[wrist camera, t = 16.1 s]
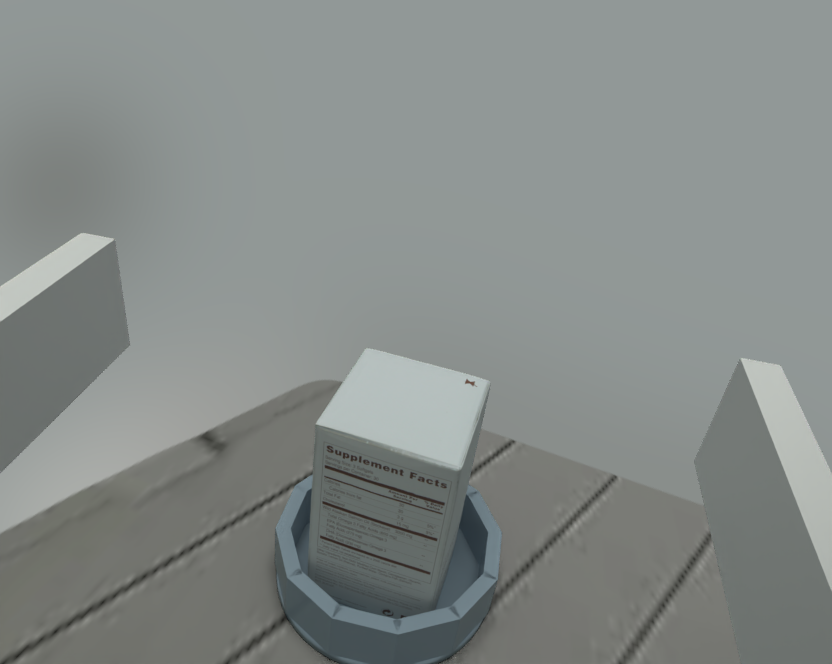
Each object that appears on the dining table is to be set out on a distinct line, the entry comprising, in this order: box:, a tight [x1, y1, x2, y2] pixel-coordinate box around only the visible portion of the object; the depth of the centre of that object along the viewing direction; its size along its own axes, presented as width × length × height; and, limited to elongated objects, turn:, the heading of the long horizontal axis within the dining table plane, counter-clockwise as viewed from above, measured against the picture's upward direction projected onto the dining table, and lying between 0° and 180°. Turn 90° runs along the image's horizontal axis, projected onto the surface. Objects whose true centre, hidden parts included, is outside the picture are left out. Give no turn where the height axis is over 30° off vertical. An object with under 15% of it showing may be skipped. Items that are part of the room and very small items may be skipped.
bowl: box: [275, 475, 502, 664], centre depth 40 cm, size 13×13×4 cm
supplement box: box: [307, 348, 491, 619], centre depth 37 cm, size 7×7×13 cm
